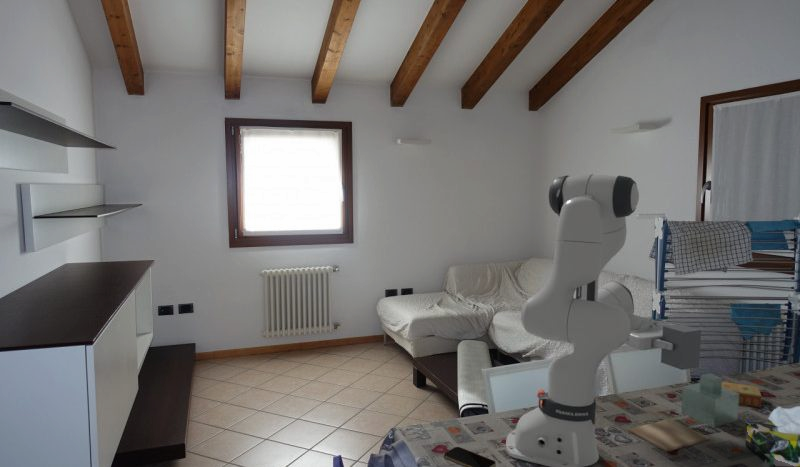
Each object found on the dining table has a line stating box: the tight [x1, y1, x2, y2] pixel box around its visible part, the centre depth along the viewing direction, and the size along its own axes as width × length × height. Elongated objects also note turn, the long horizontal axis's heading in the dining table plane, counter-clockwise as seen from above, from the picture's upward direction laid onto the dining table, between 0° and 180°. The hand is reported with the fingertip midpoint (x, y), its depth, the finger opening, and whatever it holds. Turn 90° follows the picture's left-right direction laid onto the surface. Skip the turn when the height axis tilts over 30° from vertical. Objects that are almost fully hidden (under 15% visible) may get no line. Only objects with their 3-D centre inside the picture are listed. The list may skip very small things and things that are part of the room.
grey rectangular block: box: [660, 323, 702, 371], centre depth 139 cm, size 6×6×10 cm
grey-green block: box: [681, 372, 739, 428], centre depth 151 cm, size 10×10×12 cm
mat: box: [627, 418, 710, 453], centre depth 140 cm, size 16×12×1 cm
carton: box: [699, 377, 762, 408], centre depth 165 cm, size 8×16×4 cm, turn 63°
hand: (683, 345), depth 138 cm, fingers closed on grey rectangular block, 6 cm apart
